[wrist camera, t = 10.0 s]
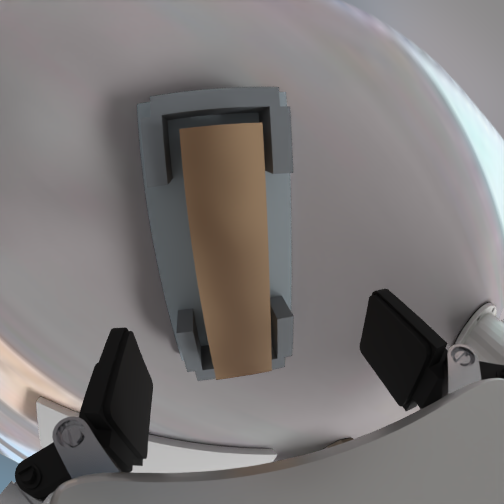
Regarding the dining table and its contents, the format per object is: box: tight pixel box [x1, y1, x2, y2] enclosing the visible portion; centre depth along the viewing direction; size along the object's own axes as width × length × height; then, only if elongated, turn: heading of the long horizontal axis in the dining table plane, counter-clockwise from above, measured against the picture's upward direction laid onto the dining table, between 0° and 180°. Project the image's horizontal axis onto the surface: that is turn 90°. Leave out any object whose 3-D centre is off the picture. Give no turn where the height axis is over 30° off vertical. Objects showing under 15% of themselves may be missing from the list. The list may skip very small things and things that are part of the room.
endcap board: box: [137, 87, 293, 381], centre depth 19 cm, size 10×21×4 cm, turn 3°
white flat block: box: [36, 396, 277, 473], centre depth 29 cm, size 34×5×10 cm
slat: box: [179, 123, 272, 380], centre depth 17 cm, size 4×16×5 cm, turn 3°
